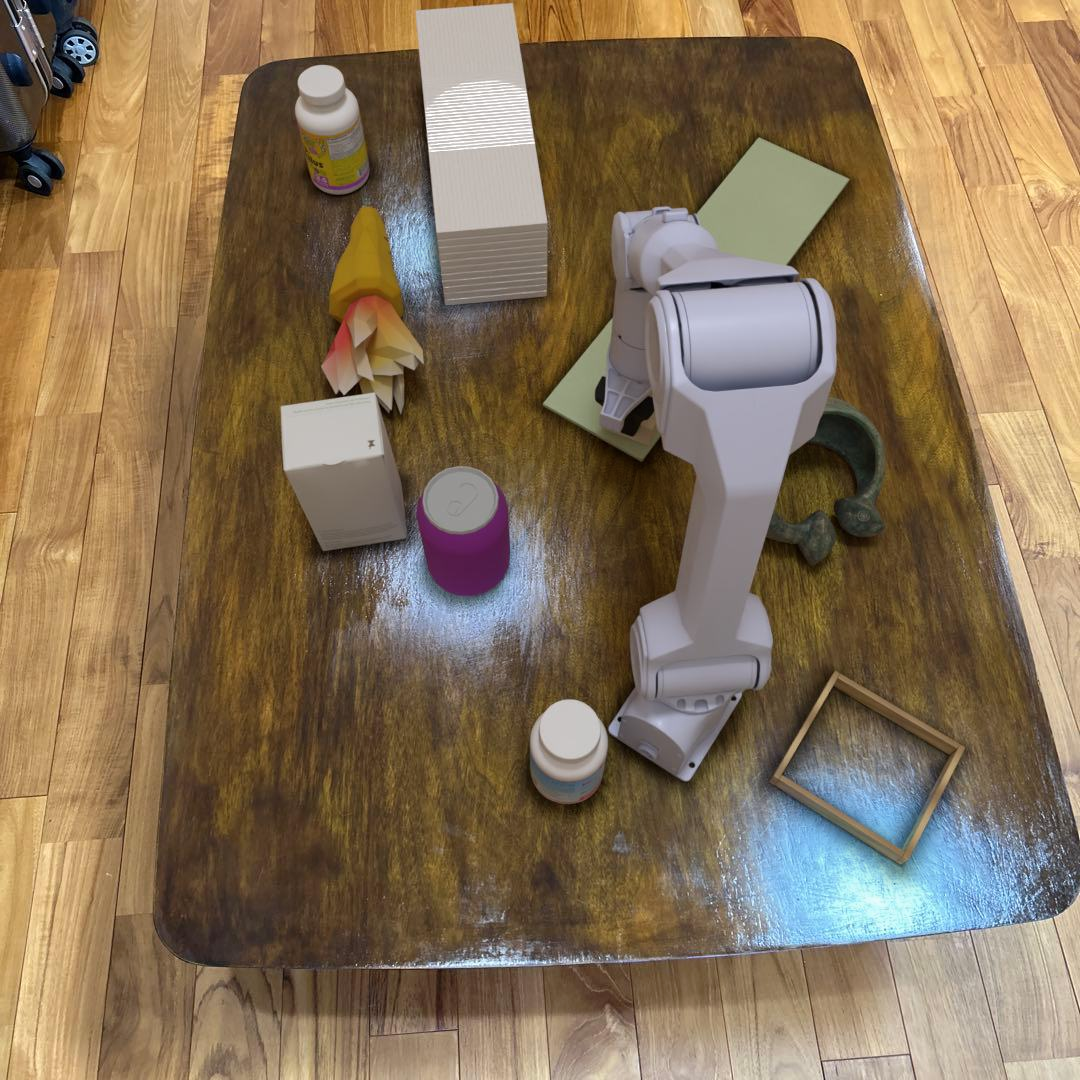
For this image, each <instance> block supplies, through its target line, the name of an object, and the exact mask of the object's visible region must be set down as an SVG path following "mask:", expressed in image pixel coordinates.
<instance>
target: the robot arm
mask: <svg viewBox="0 0 1080 1080" xmlns="http://www.w3.org/2000/svg"><path fill="white" fill-rule="evenodd" d="M610 248H611V250H610V251H611V262H612V269H613V273H614V277H615V282H616V283H615V289H614V290H615V292H614V302H613V310H612V318H613V321H612V332H611V342H610V344H609V347H608V351H607V363H606V377H604V376H602V377H601V379H600V381H599V383H598V385H597V387H596V389H595V401H596V402H597V403H599V404H600V405H601V406H602V407H603V408H602V410H601V412H600V420H599V425H600V426H602V427H605V428H607V429H610V430H612V431H616V432H618V433H623V434H626V435H629V436H631V437H633V436H634V435H635V434H636V433H637V431H638V429H639V427H640V425H641V423H642V422H643V421H644V420H648V419H649V418H650V417H651V416H652V414H653V413H654V411H655V418H656V425H657V430H658V432H659V433H660V434H661V443H662V444H661V445H662V448H663V450H664V451H665V452H667V453H669V454H670V455H673V456H674V457H677V458H679V459H681V460H683V461H684V462H686V463H689V464H690V465H692V467H693V469H694V472H695V476H696V477H695V482H694V487H693V493H692V498H691V504H690V509H689V515H688V520H687V524H686V531H685V534H684V535H685V536H684V541H683V545H682V553H681V557H680V563H679V569H678V574H677V579H676V583H675V584H676V585H675V590H674V591H672V592H670V593H668V594H665V595H663V596H662V597H659V598H657V599H655V600H653V601H651V602H648V603H647V604H645V605H643V606H642V607H640V609H639V615H638V616H637V617H636V618H635V621H634V622H633V623H632V625H631V626H630V630H629V650H630V651H629V653H630V662H631V669H632V675H633V682H634V685H635V686H634V687H633V690H632V691H631V693H630V694H629V695H628V697H627V698H626V700H625V702H624V703H623V704H622V706H621V708H620V709H619V711H618V712H617V714H616V715H615V717H614V718H613V720H612V721H611V722H610V724H609V725H608V731H607V732H608V733H609V735H610V736H612V737H614V738H615V739H617V740H618V741H620V742H621V743H623V744H625V745H626V746H628V747H629V748H630V749H632V750H634V751H635V752H636V753H638V754H640V755H641V756H642V757H645V758H646V759H648V760H649V761H650V762H653V763H654V764H655V765H657V766H659V767H660V768H662V769H663V770H664V771H666V772H668V773H669V774H671V775H673V776H674V777H676V778H677V779H679V780H680V781H682V782H684V783H687V782H690V781H691V780H692V778H693V776H694V775H695V773H696V772H697V770H698V768H699V766H700V765H701V763H702V762H703V760H704V758H705V757H706V755H707V753H709V751H710V749H711V747H712V746H713V744H714V743H715V741H716V739H717V738H718V736H719V734H720V732H721V731H722V729H723V728H724V726H725V725H726V723H727V721H728V720H729V718H730V716H731V715H732V713H733V712H734V710H735V708H736V707H737V705H738V704H739V702H740V700H741V698H742V696H743V693H744V692H745V691H746V690H753V691H761V690H763V689H764V688H765V686H766V684H767V683H768V681H769V679H770V677H771V673H772V652H773V651H772V649H773V646H774V640H773V633H772V628H771V624H770V620H769V616H768V613H767V609H766V607H765V605H764V604H763V602H762V599H761V597H760V596H758V595H757V594H754V593H752V592H750V591H751V588H752V585H753V581H754V577H755V574H756V571H757V568H758V564H759V561H760V557H761V553H762V551H763V547H764V543H765V541H766V538H767V537H766V534H767V531H768V527H769V524H770V521H771V517H772V514H773V511H774V510H775V507H776V504H777V500H778V497H779V494H780V490H781V487H782V483H783V480H784V475H785V471H786V468H787V465H788V461H789V458H790V455H791V454H793V453H794V452H796V451H797V450H798V449H800V448H801V447H802V446H804V445H805V444H807V443H806V442H807V441H809V440H810V439H811V438H813V437H814V436H815V433H816V430H817V427H818V424H819V420H820V418H821V417H822V414H823V411H824V408H825V405H826V402H827V399H828V397H830V396H829V395H830V392H831V389H832V387H833V383H834V380H835V377H836V373H837V363H838V362H837V361H838V359H837V323H836V316H835V310H834V306H833V303H832V300H831V297H830V294H829V293H828V292H827V290H826V289H825V288H824V287H823V286H822V284H821V283H820V282H819V281H818V280H817V279H815V278H813V277H805V278H800V279H799V280H798V277H799V276H800V272H798V270H796V268H794V267H793V266H791V265H787V266H786V265H781V264H776V263H770V262H765V261H760V260H754V259H749V258H744V257H740V256H737V255H733V254H730V253H726V252H723V251H719V248H718V245H717V243H716V241H715V239H714V238H713V236H712V235H711V234H710V233H709V232H708V231H707V230H706V229H704V228H703V227H701V225H700V221H699V218H698V216H697V213H693V214H689V211H688V209H687V208H686V207H675V208H674V207H673V208H672V207H670V206H668V205H664V206H654V207H653V208H652V209H650V210H638V211H637V210H636V211H635V210H634V211H625V212H623V211H618V212H617V213H615V214H614V216H613V219H612V226H611V235H610ZM797 280H798V281H797ZM651 393H652V395H653V397H650V396H648V395H649V394H651ZM732 698H735V700H732ZM618 719H620V721H619V720H618ZM690 764H693V765H694V767H691V766H690Z"/></svg>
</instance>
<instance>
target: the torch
mask: <svg viewBox="0 0 1080 1080" xmlns="http://www.w3.org/2000/svg"><path fill="white" fill-rule="evenodd" d="M349 235H350V236H349V242H348V244H347V245H346V248H345V250H344V252H343V253H342V255H341V257H340V259H339V261H338V263H337V264H336V268H335V272H334V276H333V278H332V283H331V287H330V290H329V294H328V298H329V299H328V313H329V315H330V317H332V318H333V319H334V320H336V322H338V323H339V324H340V327H339V329H338V330H337V333H336V335H335V337H334V340H333V341H332V344H331V345H330V349H329V351H328V353H327V355H326V356H325V358H324V360H323V361H322V364H321V365H320V367H321V369H322V371H323V373H324V375H325V377H326V379H327V381H328V382H329V385H330V386H331V388H332V390H333V392H334V393H335V395H338V394H339V393H340V392H341V393H342V395H343V396H345V395H346V394H347V393H348V392H349V391H350V390H351V389H352V388H354V386H355V385H357V383H358V384H359V388H360V390H361V394H367V393H374V392H375V394H376V397H377V400H378V404H379V405H381V406H382V408H383V409H384V410H385V411H386V412H387V413H388V414H390V411H392V410H393V403H394V402H393V401H394V400H395V403H396V405H397V408H398V411H399V414H400V415H402V413H403V409H404V406H405V375H404V369H405V367H406V368H408V369H410V370H413V371H415V370H416V369H417V367H418V366H419V364H421V365H424V363H425V362H424V361H425V360H424V351H423V348H422V346H421V345H420V344H419V342H418V340H416V338H415V337H414V336H413V334H412V333H411V331H410V330H409V329H408V327H407V326H406V324H405V323H404V321H403V320H402V317H403V316H404V307H403V305H404V304H403V296H402V290H401V286H400V284H399V281H398V278H397V275H396V272H395V269H394V264H393V257H392V252H391V245H390V242H389V238H388V234H387V231H386V227H385V223H384V221H383V219H382V217H381V214H380V212H379V210H378V209H377V208H375V207H373V206H370V205H369V206H361V207H360V208H359V210H358V212H357V214H356V216H355V217H354V220H353V221H352V224H351V226H350V234H349Z"/></svg>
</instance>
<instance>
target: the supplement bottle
mask: <svg viewBox="0 0 1080 1080" xmlns="http://www.w3.org/2000/svg"><path fill="white" fill-rule="evenodd" d="M297 87H298V92H299V96H298V98H297V99H296V101H295V106H294V114H295V119H296V123H297V127H298V131H299V135H300V139H301V144H302V148H303V152H304V156H305V160H306V164H307V168H308V172H309V175H310V179H311V181H312V183H313V184H314V185H315V187H316V188H318V189H319V190H321V191H322V192H324V193H325V194H330V195H337V196H339V195H347V194H350V193H354V192H355V191H357V190H359V189H360V188H361V187H363V186H364V185H365V183H366V182H367V180H368V179H369V176H370V168H371V167H370V161H369V156H368V150H367V145H366V139H365V134H364V127H363V124H362V123H363V122H362V117H361V111H360V107H359V102H358V99H357V97H356V96H355V95H354V93H353V92H352V91H351V90H349V88H347V86H346V83H345V78H344V75H343V73H342V72H341V71H340V69H338V68H337V67H335V66H332V65H329V64H328V65H327V64H319V65H318V64H317V65H313V66H311V67H308V68H306V69H305V70H303V72H301V73H300V75H299V77H298V78H297Z"/></svg>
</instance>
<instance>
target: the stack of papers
mask: <svg viewBox="0 0 1080 1080" xmlns="http://www.w3.org/2000/svg"><path fill="white" fill-rule="evenodd" d="M414 12H415V22H416V23H415V24H416V33H417V44H418V53H419V54H418V55H419V65H420V74H421V86H422V95H423V107H424V117H425V127H426V138H427V149H428V160H429V169H430V171H429V172H430V179H431V180H430V181H431V190H432V201H433V202H432V203H433V212H434V224H435V233H436V242H437V250H438V259H439V267H440V274H441V284H442V290H443V291H442V292H443V299H444V300H443V301H444V306H445V307H446V306H455V305H465V304H466V305H467V304H478V303H489V302H497V301H498V302H499V301H500V302H501V301H509V300H510V301H511V300H520V299H532V298H543V297H547V296H548V228H549V227H548V224H549V223H548V217H547V211H546V204H545V198H544V192H543V191H544V190H543V186H542V179H541V174H540V168H539V161H538V154H537V147H536V142H535V135H534V129H533V122H532V116H531V110H530V102H529V97H528V90H527V84H526V78H525V72H524V71H525V70H524V64H523V59H522V52H521V45H520V39H519V34H518V33H519V32H518V27H517V21H516V13H515V8H514V2H509V3H507V2H506V3H496V4H480V5H469V6H456V7H442V8H431V9H429V8H428V9H418V10H417V9H416V10H415V11H414Z"/></svg>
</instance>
